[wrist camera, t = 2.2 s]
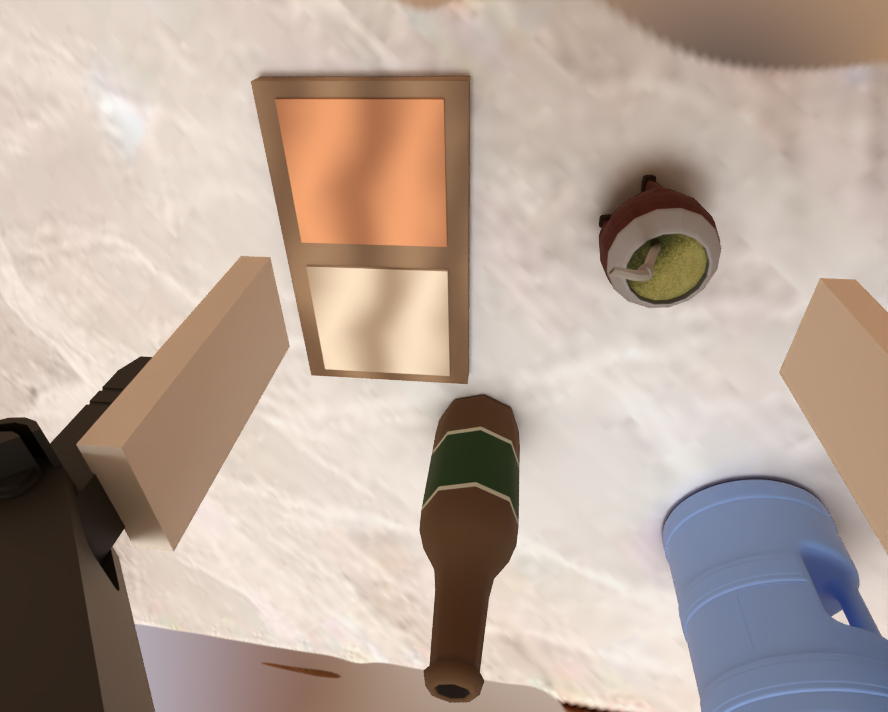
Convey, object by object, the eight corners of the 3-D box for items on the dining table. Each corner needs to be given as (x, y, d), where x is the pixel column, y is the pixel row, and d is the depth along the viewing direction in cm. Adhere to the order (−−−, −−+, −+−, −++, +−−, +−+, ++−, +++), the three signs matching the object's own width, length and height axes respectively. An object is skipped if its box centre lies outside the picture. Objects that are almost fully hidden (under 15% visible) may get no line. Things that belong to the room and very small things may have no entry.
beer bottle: (422, 415, 54) (363, 678, 34) (486, 379, 50) (461, 649, 31) (472, 463, 57) (444, 729, 37) (536, 432, 53) (542, 708, 34)
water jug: (669, 577, 64) (746, 919, 41) (651, 486, 56) (735, 852, 33) (824, 564, 59) (1004, 940, 37) (830, 463, 51) (1066, 868, 29)
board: (470, 76, 36) (467, 82, 34) (468, 373, 50) (467, 386, 48) (259, 77, 37) (249, 82, 36) (316, 365, 51) (310, 377, 50)
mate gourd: (689, 260, 41) (755, 390, 29) (579, 265, 43) (600, 391, 31) (706, 158, 37) (792, 260, 25) (583, 166, 38) (609, 267, 26)
